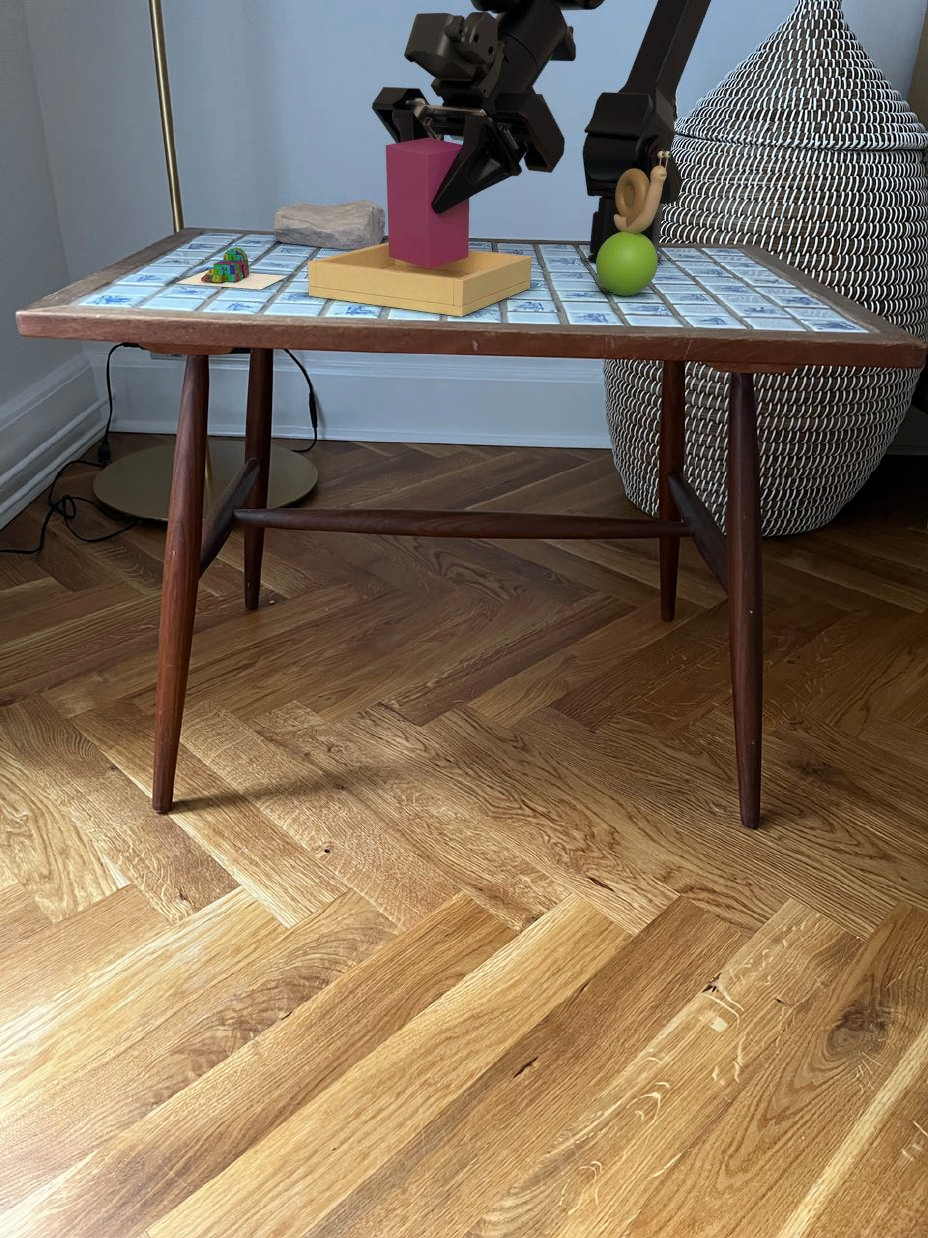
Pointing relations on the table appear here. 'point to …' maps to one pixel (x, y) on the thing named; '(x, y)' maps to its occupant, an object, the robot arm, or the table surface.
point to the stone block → (331, 225)
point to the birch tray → (419, 280)
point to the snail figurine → (632, 233)
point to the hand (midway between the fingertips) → (413, 206)
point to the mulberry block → (423, 204)
